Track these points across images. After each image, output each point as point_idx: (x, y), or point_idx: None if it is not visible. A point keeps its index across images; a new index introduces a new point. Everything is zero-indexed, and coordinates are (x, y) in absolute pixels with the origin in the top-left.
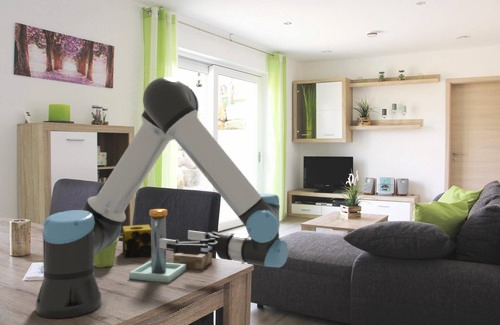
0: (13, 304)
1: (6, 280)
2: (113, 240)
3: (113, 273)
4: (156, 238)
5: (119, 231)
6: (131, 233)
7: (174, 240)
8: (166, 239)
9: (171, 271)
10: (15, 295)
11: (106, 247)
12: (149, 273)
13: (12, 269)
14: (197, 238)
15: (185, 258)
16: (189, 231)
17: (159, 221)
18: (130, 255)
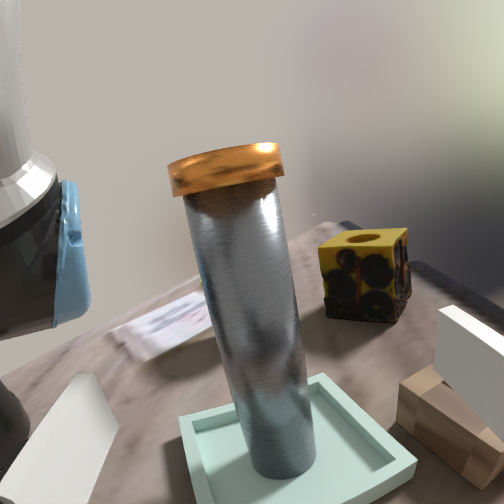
0: (3, 381)
1: (103, 323)
2: (43, 308)
3: (207, 381)
4: (215, 332)
5: (56, 275)
6: (335, 254)
7: (23, 465)
8: (57, 408)
9: (327, 481)
10: (39, 363)
11: (52, 325)
12: (197, 469)
13: (153, 301)
14: (488, 407)
15: (436, 419)
16: (446, 320)
17: (201, 228)
18: (338, 313)
